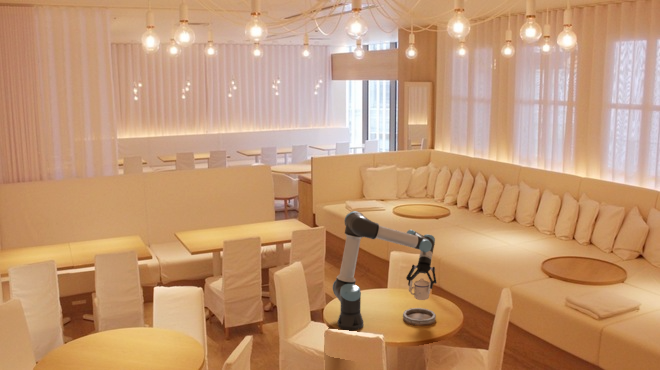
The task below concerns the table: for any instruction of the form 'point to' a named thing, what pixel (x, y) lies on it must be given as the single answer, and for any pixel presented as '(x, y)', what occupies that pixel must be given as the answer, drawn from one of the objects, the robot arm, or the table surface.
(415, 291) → the teacup with lid
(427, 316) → the round grey tray
